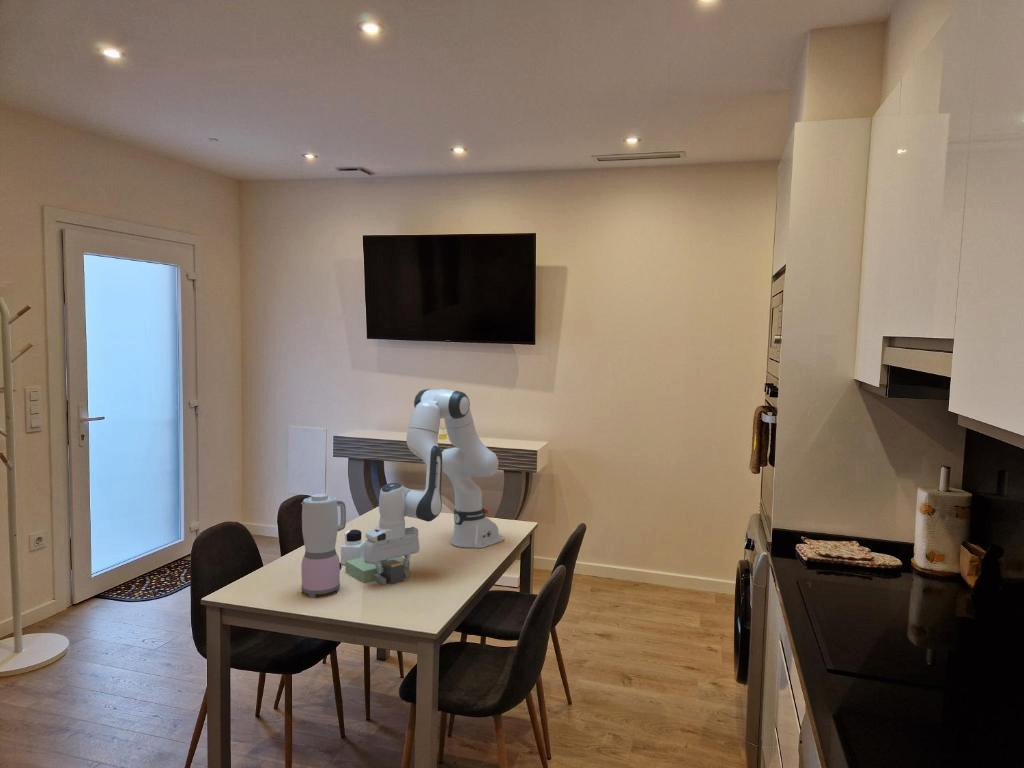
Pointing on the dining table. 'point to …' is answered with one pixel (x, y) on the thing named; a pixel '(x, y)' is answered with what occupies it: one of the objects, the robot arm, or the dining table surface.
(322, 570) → the blender
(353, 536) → the medicine bottle
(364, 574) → the green piece
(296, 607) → the dining table surface
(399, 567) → the grey block yellow strip
